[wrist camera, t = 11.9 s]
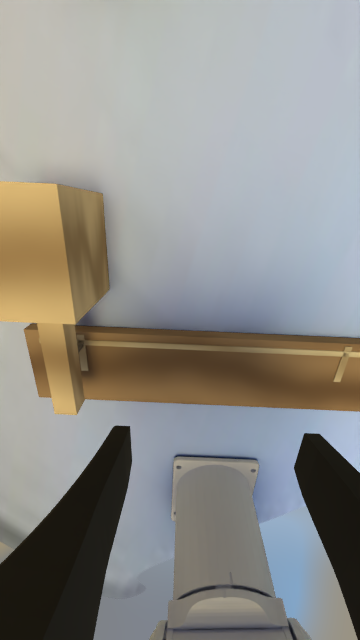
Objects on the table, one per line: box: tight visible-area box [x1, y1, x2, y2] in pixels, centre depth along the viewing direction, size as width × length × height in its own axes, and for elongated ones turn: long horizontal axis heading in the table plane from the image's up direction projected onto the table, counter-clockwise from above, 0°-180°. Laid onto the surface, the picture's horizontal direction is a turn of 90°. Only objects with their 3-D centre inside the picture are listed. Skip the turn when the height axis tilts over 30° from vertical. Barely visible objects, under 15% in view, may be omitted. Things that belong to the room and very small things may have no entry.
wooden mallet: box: [0, 181, 110, 415], centre depth 15 cm, size 13×4×6 cm, turn 178°
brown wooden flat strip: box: [24, 324, 360, 411], centre depth 19 cm, size 6×28×1 cm, turn 88°
